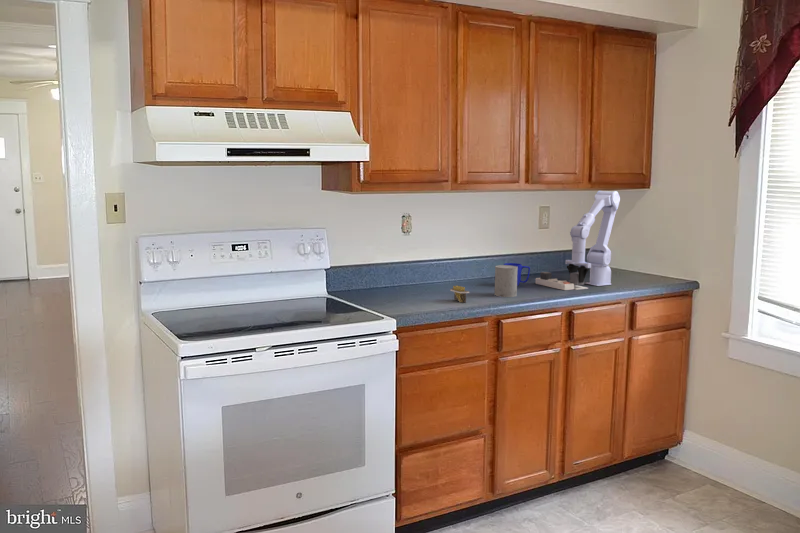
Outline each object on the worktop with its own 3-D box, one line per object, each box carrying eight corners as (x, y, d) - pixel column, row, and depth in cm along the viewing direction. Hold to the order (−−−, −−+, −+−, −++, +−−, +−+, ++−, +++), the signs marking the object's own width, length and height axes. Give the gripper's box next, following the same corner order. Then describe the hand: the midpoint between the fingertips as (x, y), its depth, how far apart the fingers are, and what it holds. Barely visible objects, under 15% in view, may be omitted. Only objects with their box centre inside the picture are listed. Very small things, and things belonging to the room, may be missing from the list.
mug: (529, 287, 310) (530, 266, 308) (502, 286, 312) (503, 265, 310) (529, 284, 317) (530, 263, 316) (503, 283, 320) (504, 262, 318)
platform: (459, 307, 265) (459, 291, 265) (433, 299, 281) (434, 284, 280) (483, 304, 272) (484, 288, 271) (457, 297, 287) (457, 282, 286)
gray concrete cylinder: (503, 297, 285) (503, 268, 283) (489, 294, 293) (490, 265, 291) (521, 296, 289) (522, 267, 287) (507, 292, 297) (508, 264, 296)
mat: (577, 286, 315) (577, 285, 315) (588, 288, 309) (588, 287, 309) (565, 287, 311) (565, 286, 311) (576, 289, 305) (576, 288, 305)
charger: (569, 283, 311) (570, 272, 310) (577, 282, 313) (577, 272, 312) (576, 285, 307) (577, 274, 306) (584, 284, 309) (584, 273, 308)
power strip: (544, 282, 324) (544, 271, 323) (573, 289, 307) (574, 277, 306) (535, 283, 321) (535, 271, 321) (564, 290, 304) (565, 277, 303)
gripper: (560, 250, 312) (559, 279, 314) (583, 254, 300) (581, 284, 301) (572, 250, 316) (571, 278, 317) (595, 253, 303) (593, 283, 305)
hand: (577, 281), depth 310 cm, fingers closed on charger, 4 cm apart
